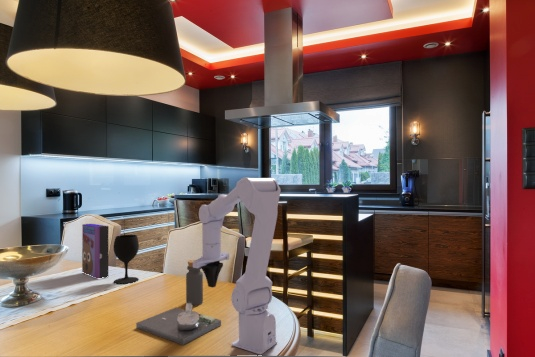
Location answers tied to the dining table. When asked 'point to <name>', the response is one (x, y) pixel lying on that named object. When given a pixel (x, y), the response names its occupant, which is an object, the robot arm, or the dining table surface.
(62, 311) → the dining table surface
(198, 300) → the bottle
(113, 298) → the dining table surface
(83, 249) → the cereal box
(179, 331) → the lever base plate
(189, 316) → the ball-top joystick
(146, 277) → the dining table surface
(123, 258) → the wine glass
